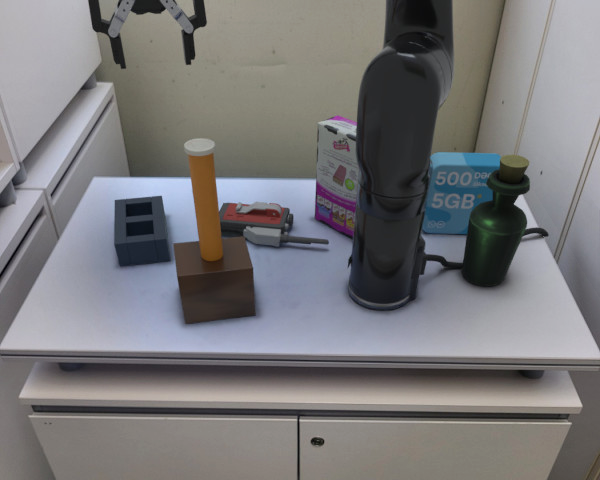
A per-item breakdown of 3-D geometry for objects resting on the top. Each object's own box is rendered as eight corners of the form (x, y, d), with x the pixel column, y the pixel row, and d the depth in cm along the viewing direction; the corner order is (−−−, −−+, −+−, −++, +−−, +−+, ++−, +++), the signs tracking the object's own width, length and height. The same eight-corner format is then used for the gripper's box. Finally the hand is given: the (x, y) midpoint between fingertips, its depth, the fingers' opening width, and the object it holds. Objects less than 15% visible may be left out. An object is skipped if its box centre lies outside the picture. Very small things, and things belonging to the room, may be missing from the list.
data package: (420, 233, 99) (432, 164, 90) (417, 219, 102) (429, 151, 93) (491, 235, 99) (511, 165, 90) (486, 221, 102) (505, 153, 93)
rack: (165, 217, 102) (161, 195, 99) (170, 261, 93) (166, 238, 90) (119, 221, 101) (114, 199, 98) (119, 266, 92) (114, 244, 89)
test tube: (223, 246, 81) (213, 136, 70) (227, 261, 79) (216, 149, 68) (197, 249, 81) (182, 139, 70) (200, 264, 78) (185, 152, 67)
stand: (247, 282, 89) (244, 235, 83) (255, 315, 84) (253, 267, 78) (181, 290, 88) (173, 243, 82) (185, 324, 82) (176, 276, 76)
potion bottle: (493, 256, 94) (526, 144, 81) (519, 286, 89) (558, 171, 76) (447, 264, 93) (472, 151, 80) (470, 294, 88) (501, 178, 74)
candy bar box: (380, 233, 99) (393, 134, 87) (360, 244, 97) (370, 144, 85) (333, 208, 104) (338, 112, 93) (313, 218, 102) (315, 121, 90)
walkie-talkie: (206, 242, 97) (327, 253, 95) (203, 217, 93) (328, 229, 91) (219, 215, 103) (333, 225, 101) (217, 191, 99) (335, 201, 97)
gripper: (67, -85, 63) (102, 78, 75) (199, -88, 66) (213, 71, 77) (68, -96, 68) (101, 59, 80) (191, -98, 71) (205, 53, 82)
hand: (156, 65), depth 79 cm, fingers open, 8 cm apart
